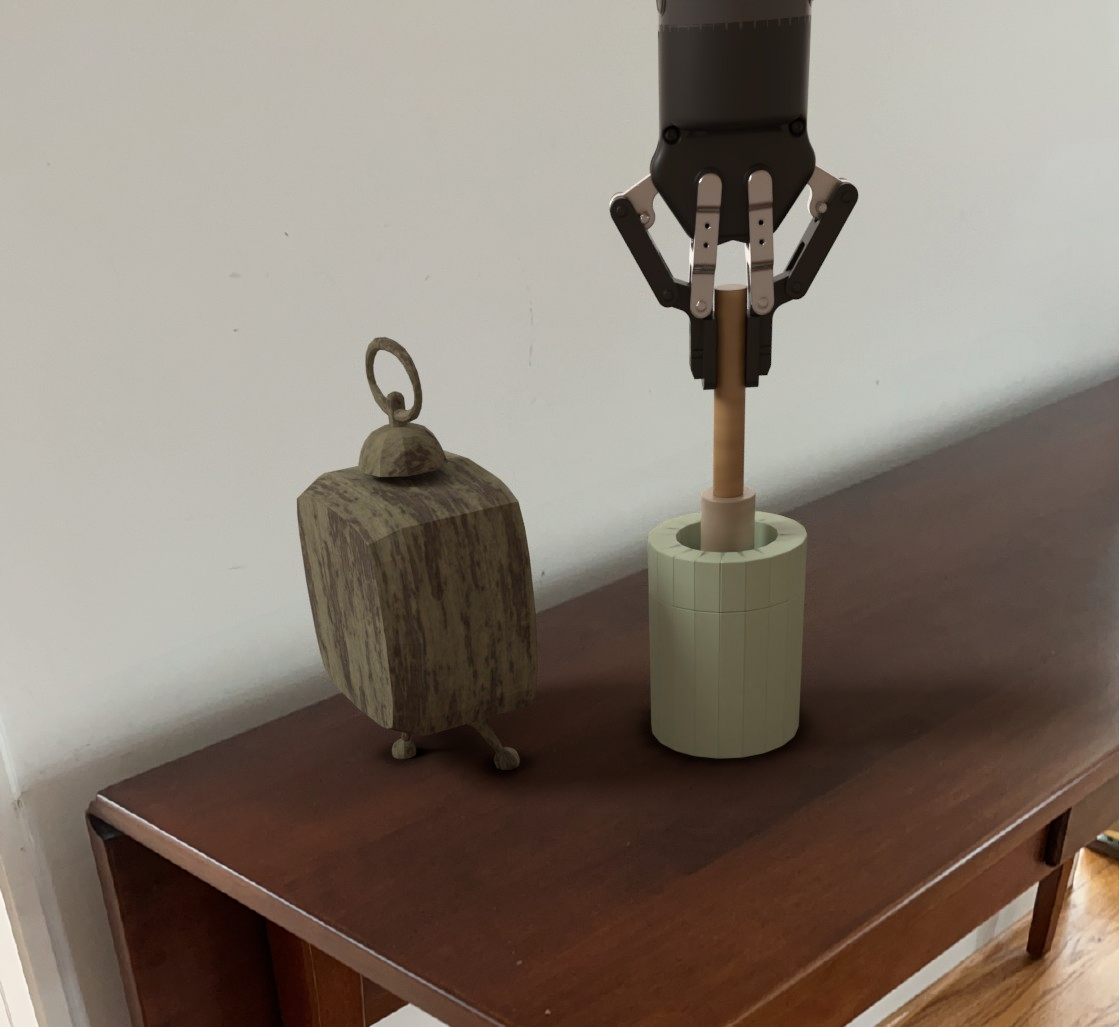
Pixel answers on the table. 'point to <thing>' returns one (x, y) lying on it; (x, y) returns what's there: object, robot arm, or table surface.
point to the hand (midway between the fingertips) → (729, 384)
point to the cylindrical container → (726, 638)
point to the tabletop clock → (420, 581)
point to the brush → (729, 433)
